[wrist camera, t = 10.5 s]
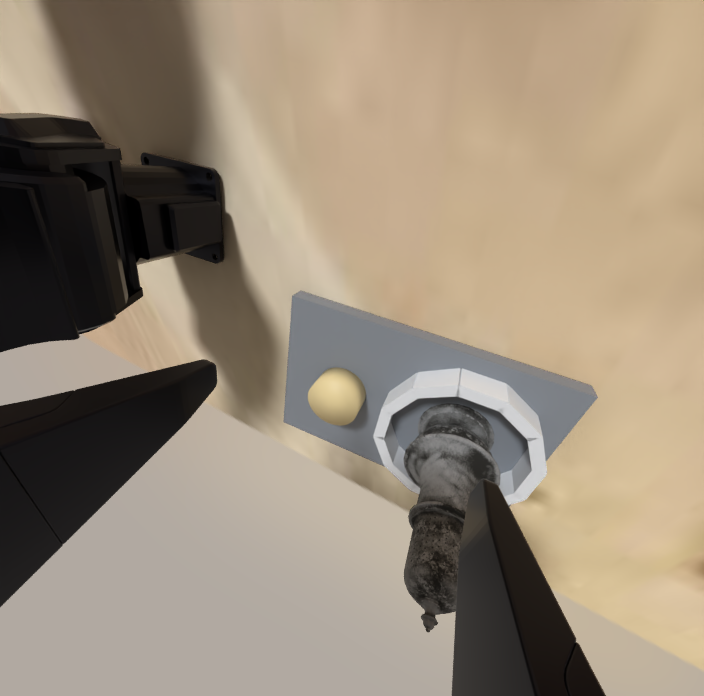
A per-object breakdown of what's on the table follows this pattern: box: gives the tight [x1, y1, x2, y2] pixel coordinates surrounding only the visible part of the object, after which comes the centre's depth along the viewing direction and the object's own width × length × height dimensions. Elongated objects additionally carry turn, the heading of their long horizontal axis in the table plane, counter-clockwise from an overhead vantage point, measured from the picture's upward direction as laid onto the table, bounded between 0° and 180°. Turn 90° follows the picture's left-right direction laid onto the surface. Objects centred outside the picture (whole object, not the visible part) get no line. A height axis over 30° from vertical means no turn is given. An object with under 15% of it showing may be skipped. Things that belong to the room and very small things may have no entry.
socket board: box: [284, 291, 598, 506], centre depth 23 cm, size 20×13×3 cm, turn 79°
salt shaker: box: [404, 403, 501, 632], centre depth 17 cm, size 6×6×12 cm
